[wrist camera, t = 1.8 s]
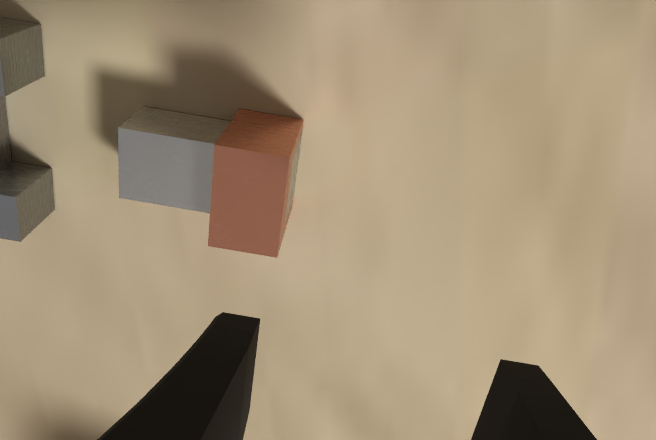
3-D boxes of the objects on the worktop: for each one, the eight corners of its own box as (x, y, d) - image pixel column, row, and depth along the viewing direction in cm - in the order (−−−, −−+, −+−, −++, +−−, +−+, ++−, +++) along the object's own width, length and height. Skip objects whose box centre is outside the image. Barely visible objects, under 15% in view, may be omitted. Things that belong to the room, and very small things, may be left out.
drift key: (291, 208, 18) (277, 257, 16) (142, 183, 18) (104, 228, 16) (303, 119, 17) (289, 157, 14) (142, 92, 17) (101, 125, 14)
